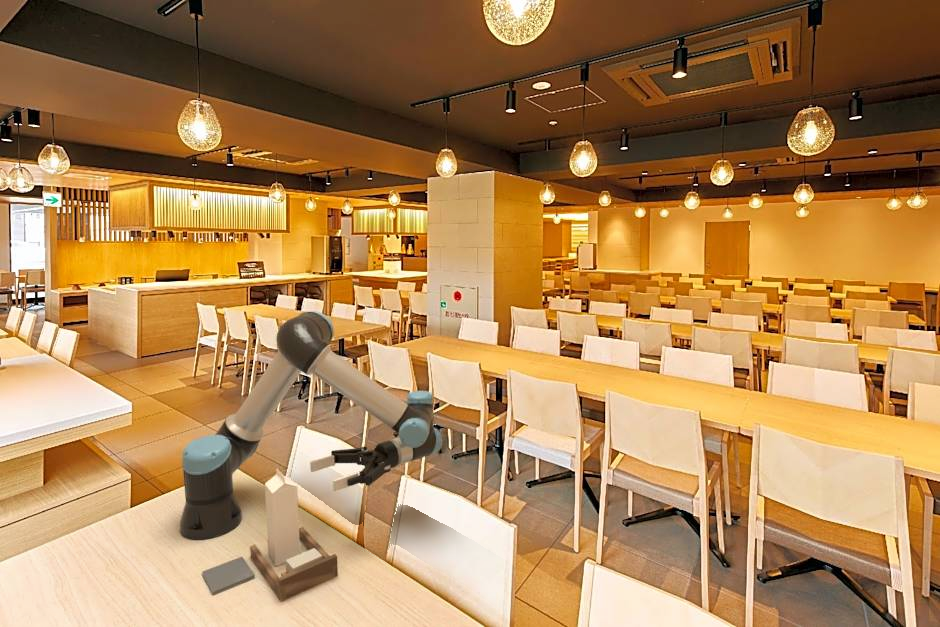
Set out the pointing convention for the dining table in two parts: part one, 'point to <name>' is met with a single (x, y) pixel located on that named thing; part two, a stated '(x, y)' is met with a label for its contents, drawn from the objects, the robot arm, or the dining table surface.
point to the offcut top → (302, 560)
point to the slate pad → (227, 575)
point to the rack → (301, 577)
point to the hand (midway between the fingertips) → (321, 476)
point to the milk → (282, 518)
